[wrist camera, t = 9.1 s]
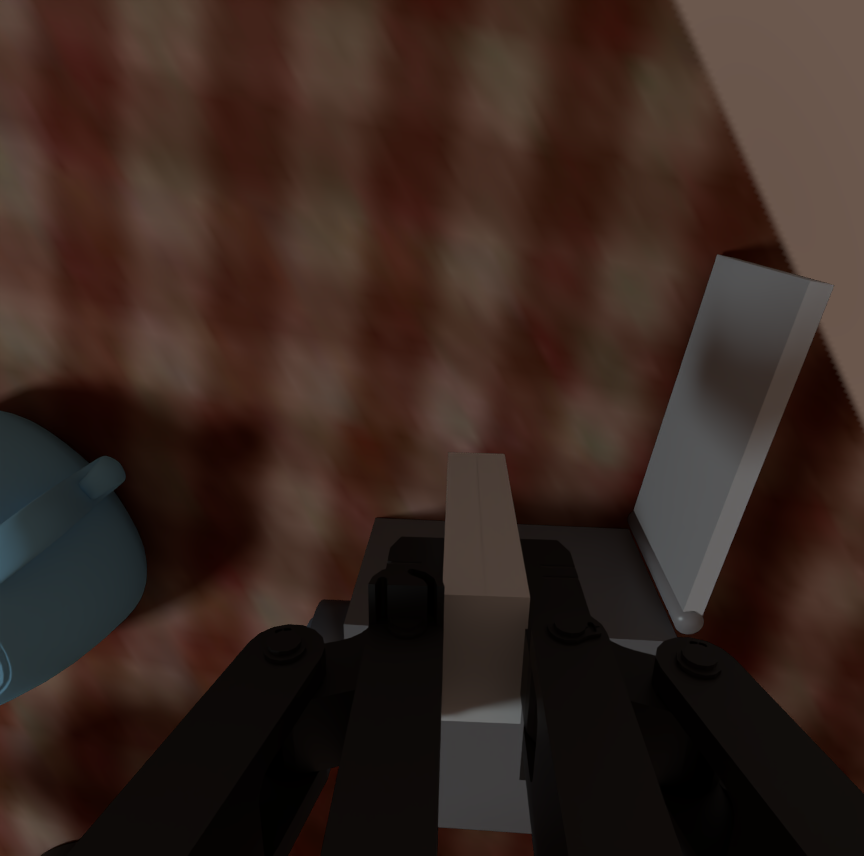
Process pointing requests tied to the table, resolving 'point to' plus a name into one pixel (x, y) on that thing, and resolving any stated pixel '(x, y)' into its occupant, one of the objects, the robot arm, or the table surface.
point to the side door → (721, 425)
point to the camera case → (502, 742)
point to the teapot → (59, 555)
